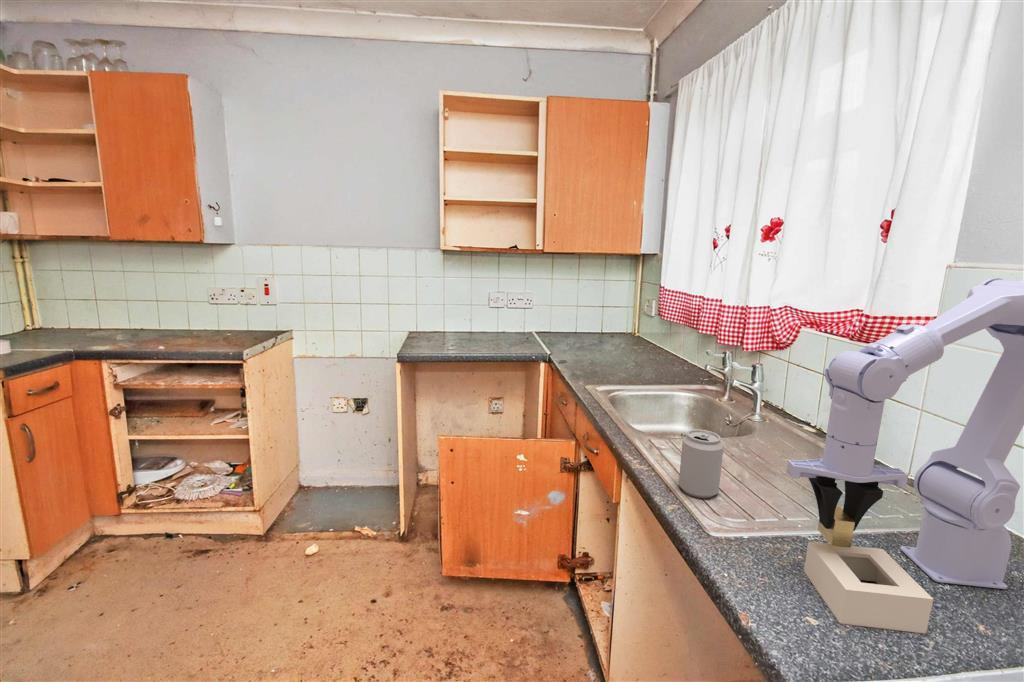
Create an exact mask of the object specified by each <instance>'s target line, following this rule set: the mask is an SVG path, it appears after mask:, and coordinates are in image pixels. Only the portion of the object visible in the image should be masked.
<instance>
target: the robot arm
mask: <svg viewBox="0 0 1024 682" xmlns="http://www.w3.org/2000/svg"><path fill="white" fill-rule="evenodd" d="M984 329H985V330H986V331H987V333H989V335H991V337H993V338H995V339H996V340H998V341H999V343H1000V344H1001V346H1002V349H1003V352H1002V353H1001V355H1000V358H999V359H998V361H997V364H996V366H995V367H994V369H993V371H992V373H991V375H990V378H989V379H988V381H987V383H986V385H985V387H984V388H983V391H982V393H981V394H980V397H979V398H978V401H977V403H976V404H975V406H974V409H973V410H972V413H971V414H970V416H969V418H968V420H967V422H966V424H965V426H964V427H963V430H962V432H961V434H960V436H959V438H958V440H957V442H956V444H955V446H953V447H948V448H944V449H939V450H938V449H937V450H935V451H934V450H933V451H932V453H931V454H930V456H929V459H928V460H927V461H926V462H925V463H924V464H923V465H922V466H921V467H920V468H919V469H918V470H917V471H916V472H915V475H914V478H913V489H914V490H915V491H914V492H915V493H916V494H918V495H919V496H920V500H919V503H920V504H922V505H923V506H924V507H923V512H922V517H921V522H920V527H919V530H918V536H917V540H916V545H915V546H906V545H905V546H904V545H901V546H900V547H899V548H900V550H901V551H902V553H904V554H905V555H906V556H907V557H908V558H909V560H912V562H914V563H915V565H917V566H918V567H919V568H920V569H921V570H922V571H923V572H924V573H925V574H926V575H927V576H928V577H930V578H931V579H932V580H933V582H936V583H944V584H953V585H964V586H970V587H971V586H973V587H982V588H992V589H1001V590H1007V589H1008V587H1009V586H1008V585H1007V584H1006V583H1005V582H1004V579H1005V575H1006V570H1007V566H1008V564H1009V559H1010V556H1011V552H1012V538H1011V535H1010V532H1009V531H1008V528H1007V527H1006V526H1005V525H1006V524H1007V523H1008V522H1009V521H1010V520H1011V519H1012V517H1013V516H1014V513H1015V510H1016V499H1017V497H1018V496H1017V495H1018V493H1019V491H1020V489H1021V485H1020V483H1019V482H1018V481H1017V479H1016V478H1015V477H1014V475H1012V473H1011V472H1010V471H1009V469H1008V468H1007V466H1006V465H1005V463H1006V459H1007V458H1008V456H1009V455H1010V452H1011V450H1012V448H1013V447H1014V445H1015V443H1016V441H1017V439H1018V437H1019V435H1020V433H1021V432H1022V429H1023V428H1024V280H1014V279H1013V280H1012V279H1005V278H1004V279H1003V278H998V277H997V278H996V277H995V278H994V277H992V278H989V279H988V278H987V279H986V280H984V281H982V282H981V283H979V284H977V285H975V286H972V287H971V288H970V289H969V291H968V293H967V296H966V298H965V299H964V300H962V301H960V302H959V303H957V304H956V305H954V306H953V307H950V308H949V309H948V310H946V311H945V312H943V313H942V314H940V315H939V316H937V317H936V318H933V319H931V321H929V322H928V323H926V324H925V325H921V324H915V323H914V324H913V323H912V324H910V323H909V324H904V323H901V325H898V326H897V327H895V330H894V331H893V332H892V333H890V334H887V335H885V336H884V337H881V338H880V339H879V340H876V341H874V342H870V343H868V344H866V345H865V347H863V348H861V349H860V350H859V351H857V350H852V349H851V350H844V351H842V352H841V353H838V354H837V355H835V356H834V357H833V358H832V359H831V361H830V362H829V365H828V367H827V368H825V369H824V378H825V381H826V383H827V384H828V386H829V391H828V393H829V394H828V396H829V397H830V400H831V401H830V402H831V403H830V410H829V415H828V423H827V429H826V436H825V442H824V448H823V454H822V457H820V458H813V459H812V458H811V459H799V460H798V459H795V460H794V459H788V460H787V467H786V473H787V474H788V475H789V476H790V477H791V478H792V479H797V480H798V479H800V478H808V480H809V483H810V485H811V487H812V490H813V493H814V496H815V499H816V504H817V509H818V511H817V512H818V518H819V519H818V522H819V521H820V523H821V524H822V525H823V526H824V527H825V528H826V529H831V527H832V524H833V520H834V515H835V509H836V507H838V504H839V501H840V499H841V497H842V495H843V493H844V502H843V503H844V504H843V508H842V510H843V511H844V512H845V513H846V514H847V515H848V516H849V517H850V518H851V519H852V520H853V521H854V522H855V525H854V531H853V532H855V531H856V529H857V527H858V525H859V524H860V523H861V520H862V518H863V517H864V516H865V514H867V512H868V511H869V509H871V507H872V506H874V505H875V504H876V503H877V502H879V501H880V500H881V499H882V498H883V496H884V490H883V489H882V488H881V487H879V484H884V485H895V486H896V487H897V488H905V489H906V488H907V484H908V479H909V474H908V473H906V472H905V471H903V469H900V468H897V467H889V466H883V465H877V464H874V463H875V457H876V453H877V445H878V441H879V436H880V435H879V434H880V429H881V424H882V419H883V413H884V407H885V402H886V400H888V399H889V400H890V399H892V398H893V397H894V396H895V395H897V393H898V391H899V390H900V388H901V386H902V385H903V384H904V383H905V382H907V379H909V376H911V375H913V374H915V373H917V372H919V371H920V370H922V369H924V368H927V367H929V365H931V364H933V363H936V362H938V361H939V360H941V359H942V357H943V356H944V353H945V347H946V346H948V345H951V344H953V343H955V342H957V341H959V340H962V339H965V338H966V337H968V336H971V335H973V334H976V333H977V332H980V331H983V330H984ZM960 469H962V470H963V471H962V470H960ZM964 471H966V472H964ZM967 472H968V473H967ZM969 473H970V474H969ZM971 474H972V475H971ZM974 475H976V476H977V477H976V476H974ZM980 478H981V479H980ZM836 481H844V492H843V491H842V490H841V489H840V488H839V487H838V483H837V482H836Z"/></svg>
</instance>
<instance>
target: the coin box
mask: <svg viewBox="0 0 1024 682" xmlns="http://www.w3.org/2000/svg"><path fill="white" fill-rule="evenodd" d="M805 556H806V557H805V562H804V568H803V572H804V574H805V575H806V577H807V578H808V580H809V581H810V583H812V585H813V587H814V588H815V589H816V591H817V593H818V594H819V596H820V597H821V599H822V600H823V601H824V602H825V604H826V606H827V607H828V609H829V610H830V611H831V613H832V614H833V616H834V618H836V620H837V621H838V622H839V624H840V625H841V624H843V625H850V626H861V627H868V628H873V629H874V628H876V629H885V630H894V631H901V632H909V633H917V634H927V631H928V626H929V621H930V615H931V613H932V608H933V602H934V598H933V597H932V596H931V595H930V593H928V592H927V591H926V590H925V589H924V588H923V587H922V586H921V585H920V584H919V583H917V581H916V580H915V579H914V578H913V577H911V575H910V574H909V573H908V572H907V571H906V570H904V569H903V567H902V566H900V564H899V563H898V562H896V561H895V559H894V558H893V557H891V556H890V555H889V554H888V552H886V550H885V549H883V548H876V547H869V546H867V547H866V546H858V545H851V548H847V547H838V546H831V545H830V544H829V543H828V542H826V543H825V542H818V541H816V542H815V541H808V542H807V549H806V555H805ZM861 581H865V582H861ZM866 581H868V582H875V583H868V582H866Z"/></svg>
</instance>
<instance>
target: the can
mask: <svg viewBox="0 0 1024 682" xmlns="http://www.w3.org/2000/svg"><path fill="white" fill-rule="evenodd" d="M721 439H722V438H721V436H720V435H719V434H718V433H716V432H713V431H710V430H705V429H699V428H697V429H696V428H695V429H690V430H688V431H686V435H685V436H684V437H683V438H682V445H681V452H680V453H681V455H680V466H679V473H678V474H679V476H678V477H679V478H678V485H679V487H680V488H681V489H682V490H683V492H685V494H686V495H689V496H692V497H694V498H699V499H709V498H712V497H713V496H715V495H717V494H718V493H719V491H720V483H721V474H722V465H723V457H724V448H725V447H724V443H722V441H721Z"/></svg>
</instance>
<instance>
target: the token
mask: <svg viewBox="0 0 1024 682" xmlns="http://www.w3.org/2000/svg"><path fill="white" fill-rule="evenodd" d="M854 525H855V522H854V521H853V520H852V519H851V518H850V517H849V516H848V515H847V514H846V513H845V512H844V511H843V508H842V507H841V506H836V509H835V515H834V520H833V524H832V527H831V529H826V528H825V527H824V526H823V525H822V524H821V523H820V521H819V520H818V527H817V531H818V532H819V533H820V534H821V535H822V536H823V538H824V539H825V540H826V541H827V544H830V545H831V546H838V547H847V548H851V546H852V540H853V536H854V532H855V531H854Z"/></svg>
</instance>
